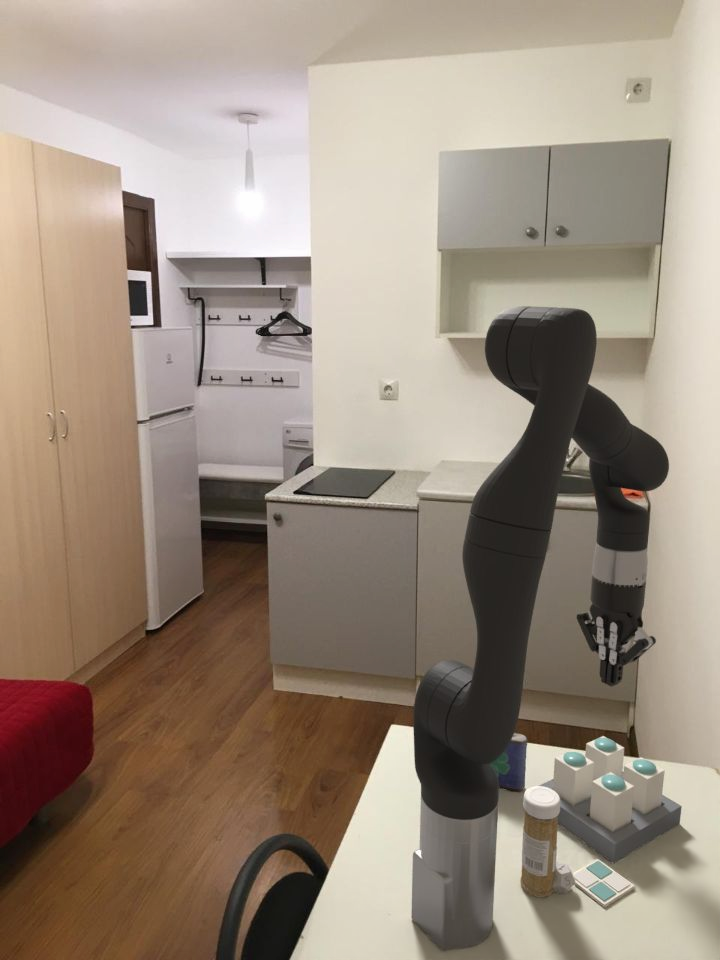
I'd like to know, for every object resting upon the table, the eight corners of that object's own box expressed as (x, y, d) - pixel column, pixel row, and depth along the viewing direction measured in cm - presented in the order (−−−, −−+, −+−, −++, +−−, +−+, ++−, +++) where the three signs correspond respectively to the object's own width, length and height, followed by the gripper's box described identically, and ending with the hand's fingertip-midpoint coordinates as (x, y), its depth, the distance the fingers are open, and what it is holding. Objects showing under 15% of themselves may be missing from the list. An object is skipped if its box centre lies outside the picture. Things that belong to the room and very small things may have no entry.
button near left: (573, 807, 112) (576, 768, 110) (552, 793, 115) (555, 755, 114) (591, 798, 114) (594, 759, 113) (570, 784, 117) (573, 747, 116)
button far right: (643, 816, 110) (647, 776, 109) (620, 801, 113) (624, 763, 112) (660, 806, 112) (664, 767, 111) (637, 792, 115) (641, 754, 114)
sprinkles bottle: (562, 888, 99) (568, 797, 97) (539, 904, 97) (545, 811, 94) (534, 868, 103) (539, 780, 100) (512, 883, 100) (516, 793, 97)
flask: (526, 786, 121) (529, 725, 119) (520, 796, 119) (524, 734, 116) (472, 769, 125) (474, 710, 123) (465, 778, 123) (467, 718, 121)
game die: (580, 889, 99) (582, 869, 99) (562, 902, 97) (563, 882, 96) (558, 874, 102) (560, 854, 101) (540, 886, 100) (541, 866, 99)
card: (604, 907, 96) (604, 903, 96) (567, 878, 101) (567, 875, 101) (634, 888, 100) (634, 884, 99) (597, 861, 104) (597, 857, 104)
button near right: (612, 834, 106) (615, 793, 105) (589, 818, 109) (592, 778, 108) (630, 823, 108) (634, 783, 107) (607, 808, 112) (610, 769, 110)
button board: (613, 863, 104) (615, 844, 103) (532, 805, 116) (533, 788, 116) (679, 823, 112) (681, 806, 111) (597, 773, 124) (598, 757, 124)
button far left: (604, 791, 116) (607, 753, 114) (583, 778, 119) (586, 741, 118) (621, 782, 118) (624, 745, 116) (600, 769, 121) (603, 733, 120)
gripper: (566, 566, 115) (559, 672, 118) (641, 593, 104) (631, 708, 107) (599, 557, 119) (591, 660, 122) (675, 582, 108) (664, 694, 111)
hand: (610, 683), depth 115 cm, fingers closed
